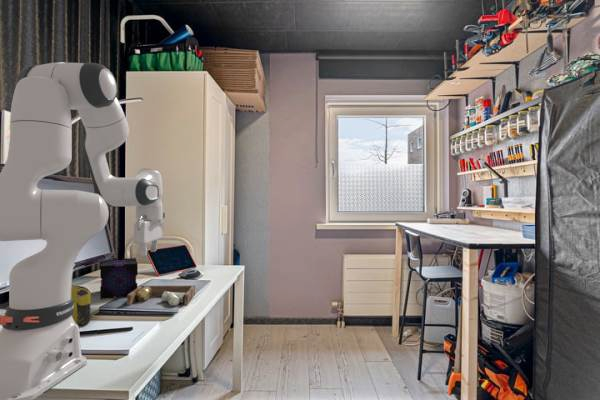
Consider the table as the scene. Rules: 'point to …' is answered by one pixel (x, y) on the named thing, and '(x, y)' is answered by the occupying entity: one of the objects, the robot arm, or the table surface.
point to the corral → (160, 290)
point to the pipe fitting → (173, 298)
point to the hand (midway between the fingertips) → (149, 253)
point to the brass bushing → (144, 294)
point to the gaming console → (81, 305)
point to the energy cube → (118, 277)
